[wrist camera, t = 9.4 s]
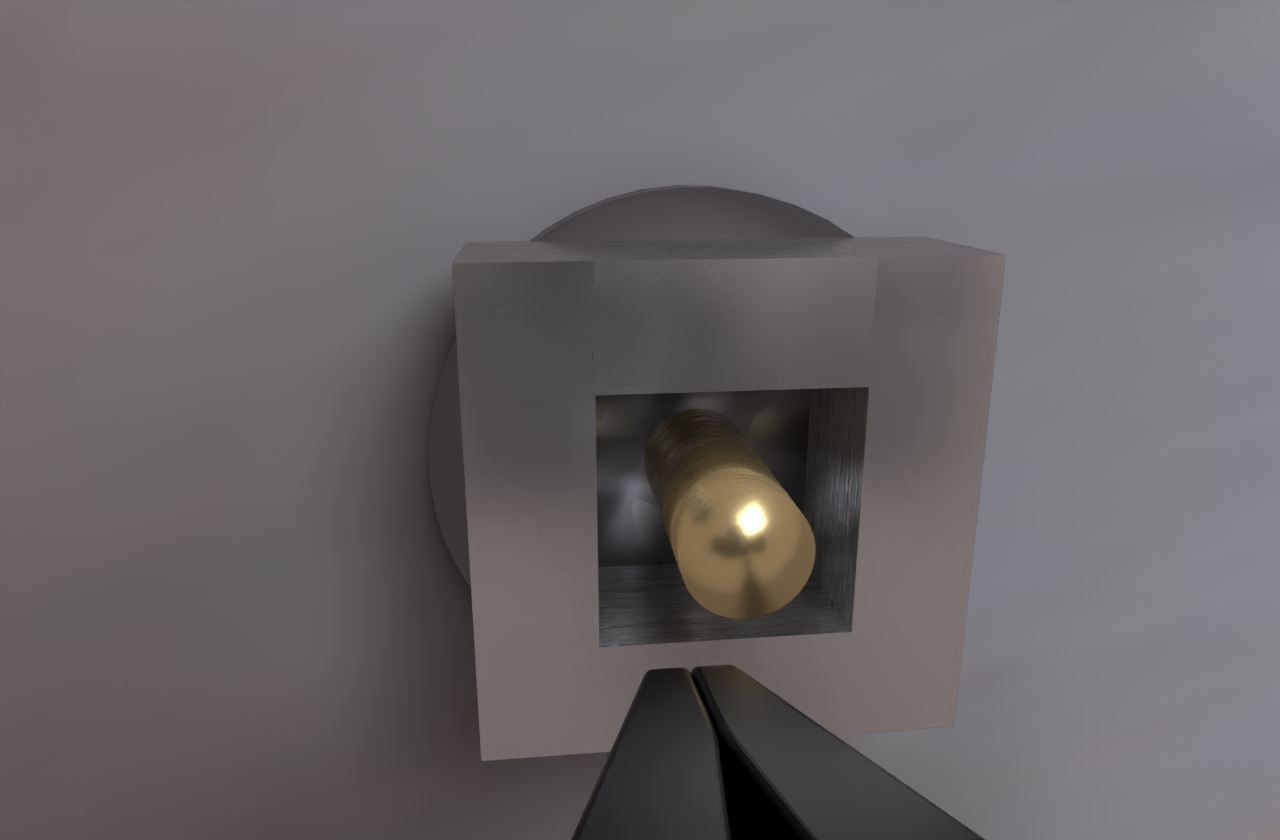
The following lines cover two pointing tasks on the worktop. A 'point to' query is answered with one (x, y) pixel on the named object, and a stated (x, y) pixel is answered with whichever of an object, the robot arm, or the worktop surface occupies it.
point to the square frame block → (715, 362)
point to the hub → (678, 435)
